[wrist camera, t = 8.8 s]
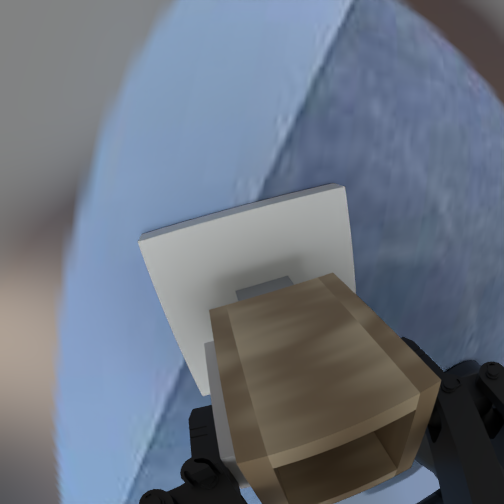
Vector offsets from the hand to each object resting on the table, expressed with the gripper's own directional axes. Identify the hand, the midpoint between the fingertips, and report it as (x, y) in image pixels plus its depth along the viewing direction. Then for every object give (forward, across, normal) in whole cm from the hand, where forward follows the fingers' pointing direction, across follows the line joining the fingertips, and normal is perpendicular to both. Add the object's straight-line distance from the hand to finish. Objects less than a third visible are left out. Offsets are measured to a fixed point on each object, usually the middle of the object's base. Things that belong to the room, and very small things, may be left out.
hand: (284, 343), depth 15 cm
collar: (0, 0, 0) cm, 0 cm away
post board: (+6, 0, 0) cm, 6 cm away
